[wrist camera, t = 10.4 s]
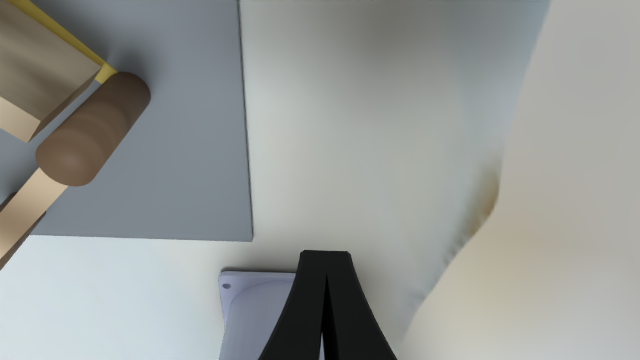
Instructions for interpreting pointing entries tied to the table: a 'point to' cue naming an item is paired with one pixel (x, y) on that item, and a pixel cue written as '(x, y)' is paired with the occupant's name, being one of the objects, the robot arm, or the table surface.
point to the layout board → (152, 122)
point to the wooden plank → (36, 74)
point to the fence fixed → (73, 155)
